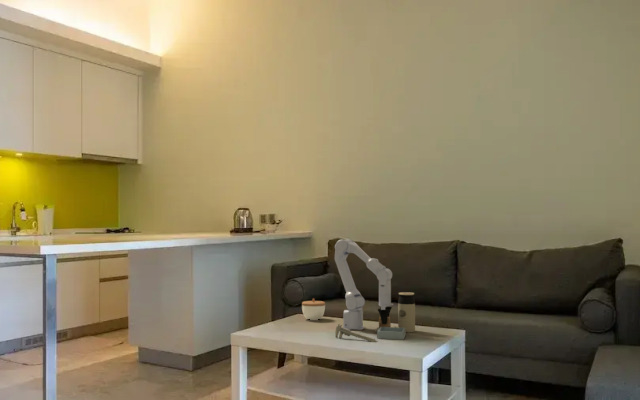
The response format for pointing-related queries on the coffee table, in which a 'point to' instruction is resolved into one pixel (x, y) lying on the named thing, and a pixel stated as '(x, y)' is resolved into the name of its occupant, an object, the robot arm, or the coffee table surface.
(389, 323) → the block
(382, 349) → the coffee table surface
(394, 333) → the tray
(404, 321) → the travel mug
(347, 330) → the caliper
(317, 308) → the lidded bowl
